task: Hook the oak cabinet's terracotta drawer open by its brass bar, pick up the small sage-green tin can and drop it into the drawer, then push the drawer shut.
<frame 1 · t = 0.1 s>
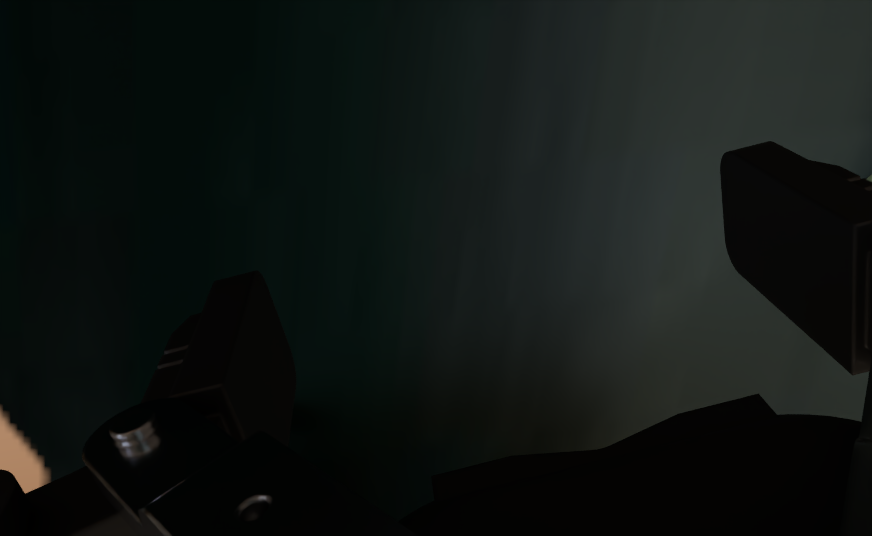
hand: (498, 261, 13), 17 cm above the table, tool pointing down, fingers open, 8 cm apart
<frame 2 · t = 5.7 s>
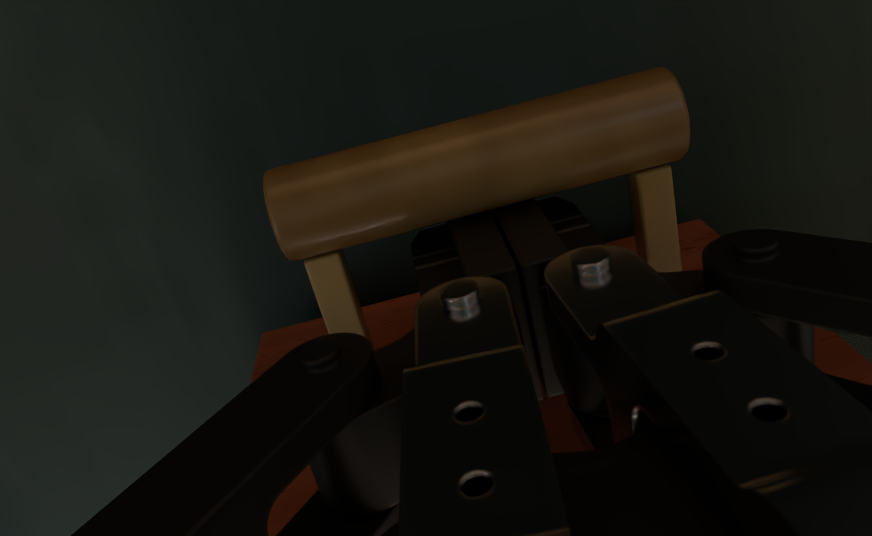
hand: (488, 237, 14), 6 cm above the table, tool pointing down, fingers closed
drawer: (545, 509, 18), point 5 cm above the table, slide at 0.6 cm, touching gripper
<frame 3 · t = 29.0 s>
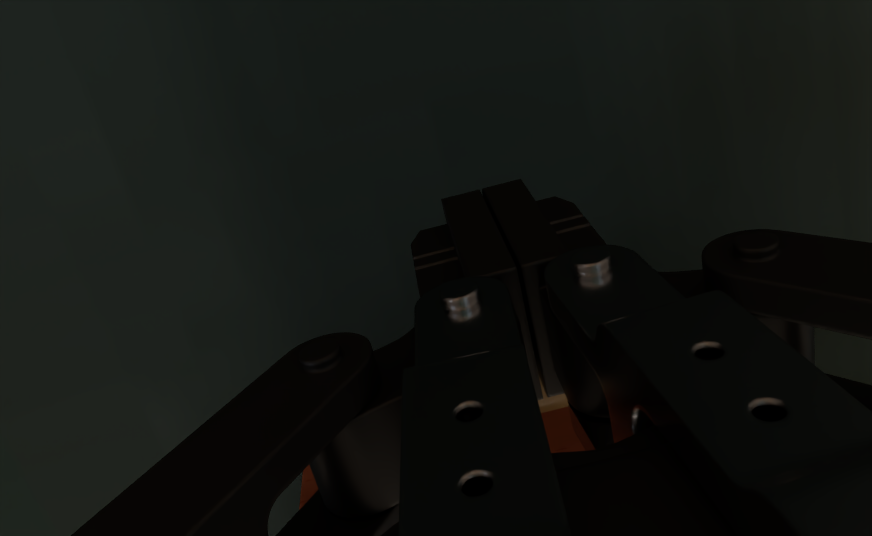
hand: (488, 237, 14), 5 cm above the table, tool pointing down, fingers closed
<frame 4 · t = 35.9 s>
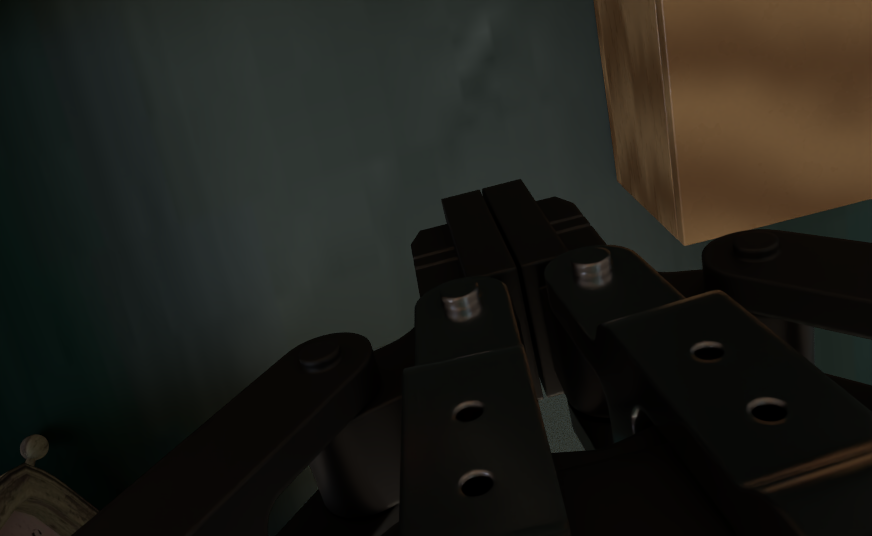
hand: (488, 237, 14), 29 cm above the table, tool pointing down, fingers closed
tabletop clock: (68, 507, 51), on the table
cabinet: (714, 22, 41), on the table
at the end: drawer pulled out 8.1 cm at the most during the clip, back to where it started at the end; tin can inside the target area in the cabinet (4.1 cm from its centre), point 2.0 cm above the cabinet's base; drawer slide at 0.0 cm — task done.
